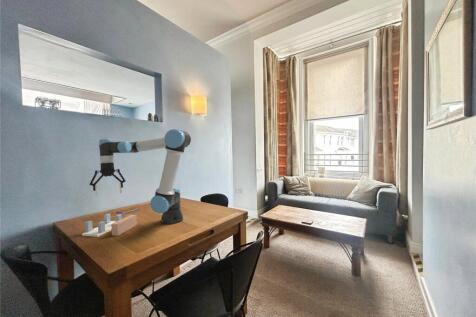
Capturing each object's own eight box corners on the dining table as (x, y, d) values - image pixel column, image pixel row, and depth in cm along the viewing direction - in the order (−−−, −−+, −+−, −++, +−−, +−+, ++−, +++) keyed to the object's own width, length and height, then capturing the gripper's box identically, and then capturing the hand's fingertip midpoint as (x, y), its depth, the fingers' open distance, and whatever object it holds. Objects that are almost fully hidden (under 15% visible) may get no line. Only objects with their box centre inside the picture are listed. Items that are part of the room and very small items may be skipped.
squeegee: (131, 207, 178) (138, 208, 174) (131, 208, 178) (139, 210, 174) (97, 217, 152) (105, 219, 148) (97, 219, 152) (105, 221, 148)
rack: (124, 223, 140) (124, 213, 140) (97, 236, 118) (97, 224, 118) (111, 222, 142) (110, 212, 142) (81, 235, 120) (81, 223, 120)
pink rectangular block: (136, 224, 137) (136, 214, 137) (117, 235, 120) (117, 224, 119) (131, 224, 138) (131, 214, 138) (111, 235, 120) (111, 224, 120)
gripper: (128, 161, 143) (129, 190, 144) (84, 163, 130) (86, 195, 130) (128, 161, 137) (130, 192, 138) (82, 163, 123) (85, 197, 124)
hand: (108, 194), depth 134 cm, fingers open, 13 cm apart
